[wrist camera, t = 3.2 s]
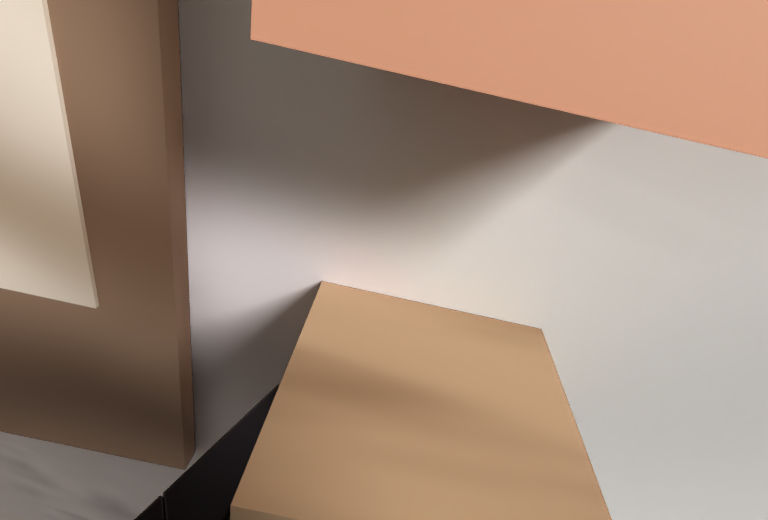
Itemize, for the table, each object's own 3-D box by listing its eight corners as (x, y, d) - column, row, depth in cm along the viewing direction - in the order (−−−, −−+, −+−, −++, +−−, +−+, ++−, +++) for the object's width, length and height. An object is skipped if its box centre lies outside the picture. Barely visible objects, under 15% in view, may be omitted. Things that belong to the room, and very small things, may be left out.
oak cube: (473, 464, 12) (499, 717, 8) (299, 428, 12) (225, 663, 8) (541, 328, 9) (637, 589, 5) (322, 281, 9) (230, 505, 5)
